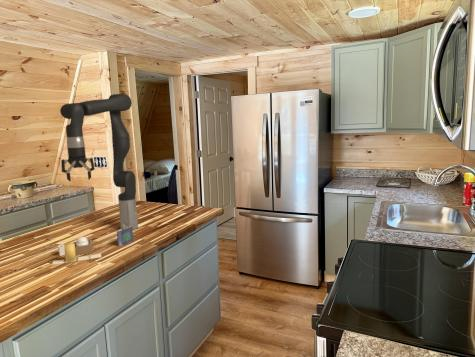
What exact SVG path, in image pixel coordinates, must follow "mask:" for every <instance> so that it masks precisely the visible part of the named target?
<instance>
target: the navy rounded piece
mask: <svg viewBox="0 0 475 357" xmlns="http://www.w3.org/2000/svg"><path fill="white" fill-rule="evenodd" d="M121 226H122V225H121V224H120V227H121ZM133 238H134V234H133V230H132V226H125V225H124V224H123V226H122V229H121V228H120V229H118V230H116V240H117V247H122V246H124V245H126V244H128V243H131V242H133V241H134V239H133Z"/></svg>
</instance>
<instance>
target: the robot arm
mask: <svg viewBox="0 0 475 357" xmlns="http://www.w3.org/2000/svg"><path fill="white" fill-rule="evenodd" d="M131 107H132V98H131V97H130V96H129V95H127V94H125V93H114V94H111V95H109V97H108V98H103V99H91V100H85V101H81V102H80V101H79V102H73V103H72V102H71V103H65V104H63V105H62V106H61V107H60V111H59V112H60V115H61V116H62V117H63V118H64V119H67V120H70V123H69V124H67V125H66V126H65V133H66V134H65V135H66V147H67V148H66V149H67V157H68V159H61V172H62V173H65V174H66V180H68V182H71V181H72V179H71V173H70V172H71V170H72V169H73V168H74V169H77V168H79V169H81V168H84V169H85V170H87V179H88V180H91V179H92V171H94V170H95V162H94V157H90V158H89V157H88V158H87V157H86V155H87V154H86V144H85V139H84V133H83V125H84V120H85V119H84V118H85V117H87V116H89V117H90V116H94V115H98V114H103V113H108V112H109V119H110V127H111V140H112V142H111V144H112V152H113V154H112V155H113V158H112V159H113V166H112V167H113V168H112V169H113V170H112V171H113V172H112V174H113V175H112V178H113V183H114V186H115V187H117V188H124V191H123V192H122V193H119V194H118V196H117V198H118V208H119V209H118V210H119V220H120V222H119V223H120V229H122V226H123V224H124V225H125V226H132V231H133V230H136V229H139V221H138V212H137V202H136V193H137V181H136V175H135V172H134V171H132V170H124V162H125V159H126V157H127V155H128V154H129V152H130V148H131V139H130V133H129V132H128V130H127V128H126V125H125V123H123V120H122V112H125V111H128V110H130V109H131ZM87 162H88V163H90V166H91V167H89V166H88V165H87V164H86V163H87ZM67 163H68V164H69V165H70V166H69V167H68V168H67V169H66V164H67ZM121 225H122V226H121Z"/></svg>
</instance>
